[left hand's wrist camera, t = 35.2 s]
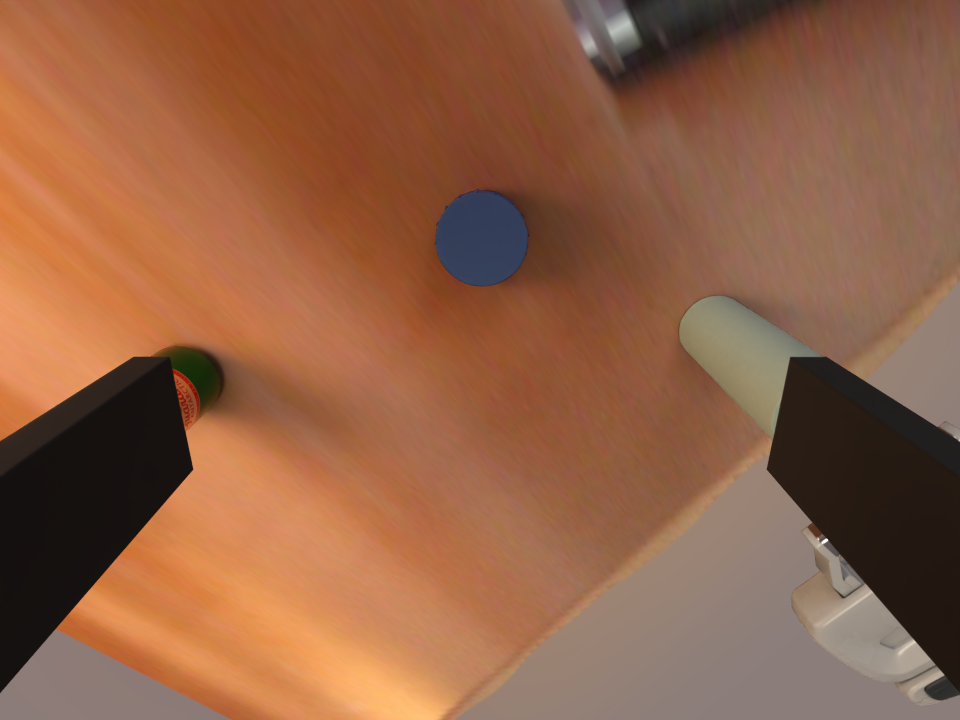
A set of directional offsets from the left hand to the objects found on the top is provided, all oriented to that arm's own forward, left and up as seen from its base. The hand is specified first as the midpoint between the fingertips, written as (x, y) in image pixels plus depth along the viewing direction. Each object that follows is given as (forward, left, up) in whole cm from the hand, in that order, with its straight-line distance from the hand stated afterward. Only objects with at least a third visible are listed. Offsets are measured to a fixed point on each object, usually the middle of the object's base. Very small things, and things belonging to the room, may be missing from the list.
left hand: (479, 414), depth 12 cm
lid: (0, 0, -25) cm, 25 cm away
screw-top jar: (+9, +15, -26) cm, 31 cm away
